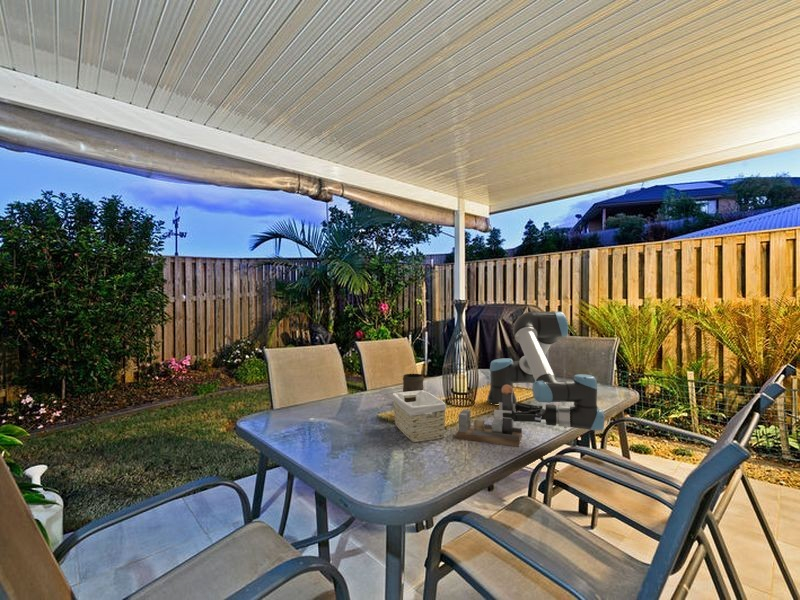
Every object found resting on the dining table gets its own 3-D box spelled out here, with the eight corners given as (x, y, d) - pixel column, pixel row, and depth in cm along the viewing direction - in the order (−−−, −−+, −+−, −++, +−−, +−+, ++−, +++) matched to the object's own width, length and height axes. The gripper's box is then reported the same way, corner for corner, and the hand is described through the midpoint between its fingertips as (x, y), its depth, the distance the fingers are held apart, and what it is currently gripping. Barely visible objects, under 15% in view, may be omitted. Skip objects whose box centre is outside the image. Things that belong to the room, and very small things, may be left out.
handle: (494, 429, 152) (493, 381, 152) (514, 431, 149) (514, 383, 149) (491, 434, 146) (491, 385, 146) (512, 437, 143) (511, 386, 143)
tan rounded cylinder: (475, 428, 154) (475, 419, 154) (485, 430, 152) (485, 420, 152) (473, 431, 150) (473, 422, 150) (483, 433, 148) (483, 423, 148)
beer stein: (421, 420, 172) (421, 376, 173) (399, 418, 175) (399, 375, 177) (429, 413, 186) (429, 372, 188) (409, 411, 190) (409, 371, 191)
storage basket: (448, 439, 148) (447, 402, 148) (410, 445, 143) (409, 406, 143) (424, 421, 171) (424, 389, 171) (391, 425, 165) (390, 392, 166)
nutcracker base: (463, 428, 160) (463, 407, 160) (522, 436, 150) (521, 413, 150) (456, 438, 149) (456, 415, 149) (518, 446, 139) (518, 422, 139)
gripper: (556, 435, 129) (491, 427, 138) (557, 416, 150) (501, 411, 159) (556, 413, 129) (491, 407, 138) (557, 398, 150) (500, 393, 159)
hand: (496, 409), depth 148 cm, fingers open, 10 cm apart
